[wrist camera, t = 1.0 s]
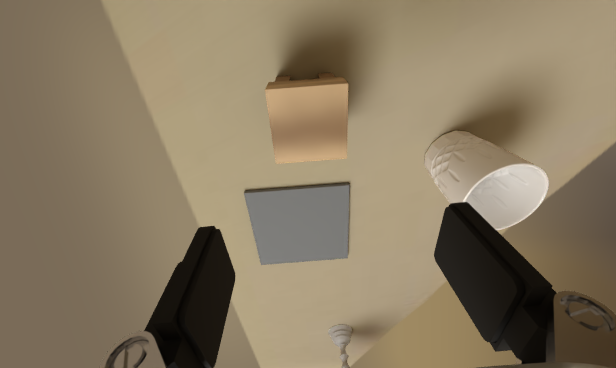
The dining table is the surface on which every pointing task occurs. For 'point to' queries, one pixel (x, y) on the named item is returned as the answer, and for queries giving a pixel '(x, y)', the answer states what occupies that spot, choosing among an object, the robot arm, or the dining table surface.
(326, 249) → the mat
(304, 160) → the stool
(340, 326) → the chalice
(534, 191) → the white cup
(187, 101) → the dining table surface
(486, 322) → the robot arm
